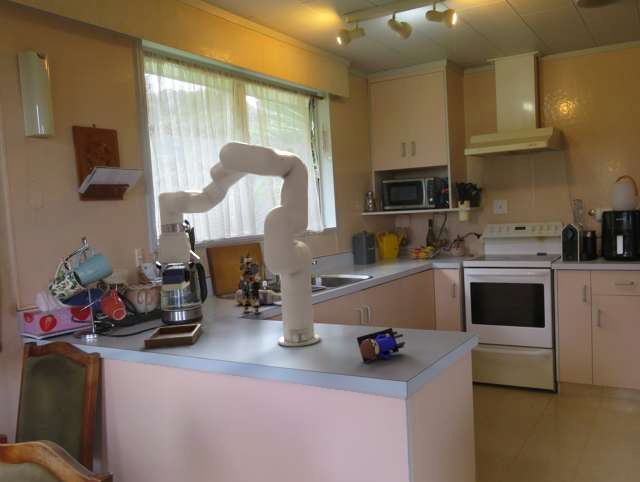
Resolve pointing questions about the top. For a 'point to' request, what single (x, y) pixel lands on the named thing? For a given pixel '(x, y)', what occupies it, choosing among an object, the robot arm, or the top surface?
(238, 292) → the decorative bottle
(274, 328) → the top surface
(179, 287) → the navy stepped block
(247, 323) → the top surface
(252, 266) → the toy
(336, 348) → the top surface
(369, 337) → the character figurine
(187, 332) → the tray
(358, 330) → the top surface
